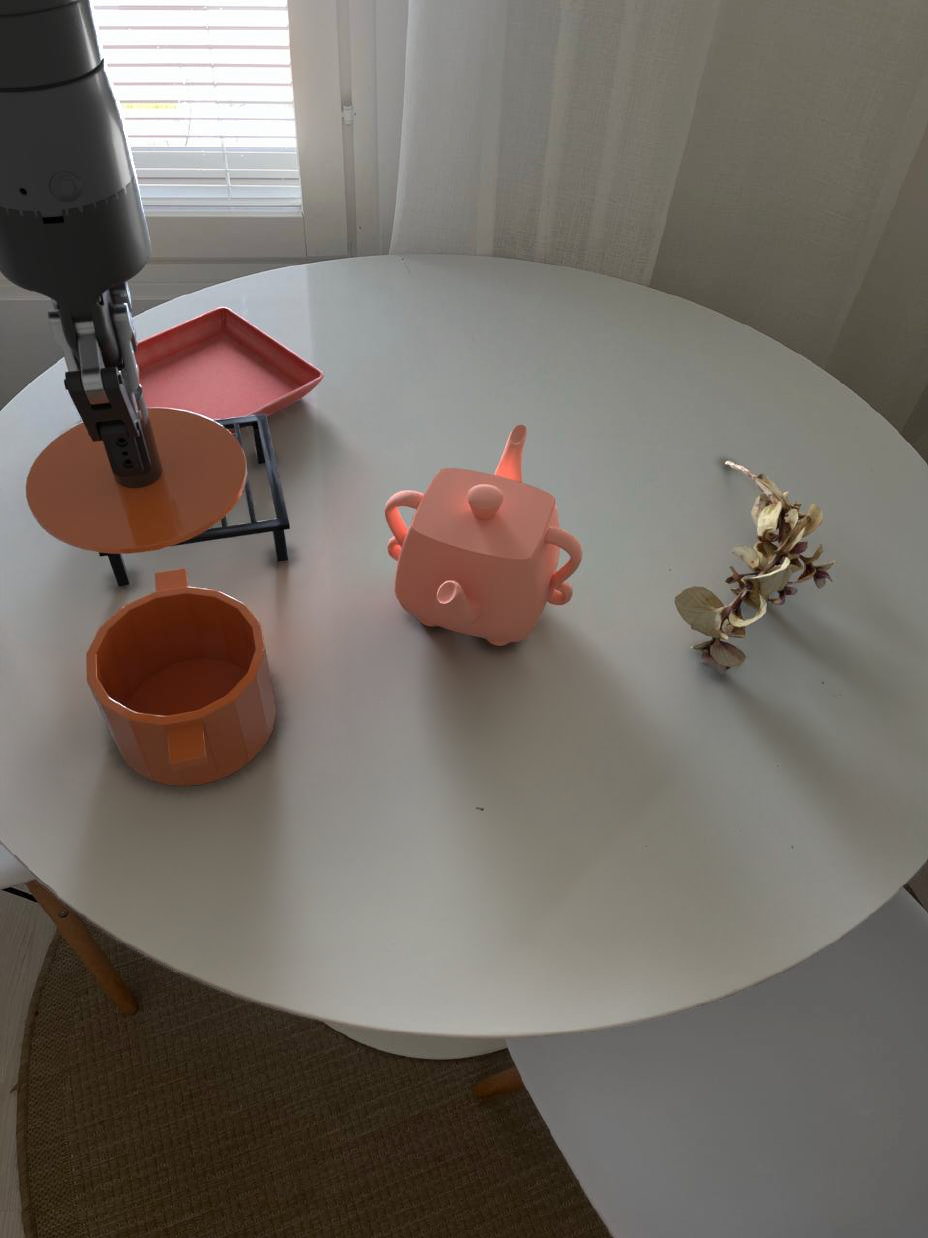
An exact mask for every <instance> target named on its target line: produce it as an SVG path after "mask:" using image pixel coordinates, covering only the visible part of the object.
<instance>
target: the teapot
mask: <svg viewBox="0 0 928 1238" xmlns="http://www.w3.org/2000/svg"><path fill="white" fill-rule="evenodd" d="M527 435H528V430H527V427H526V425H524V424H517V425H516V426H515V427H514V428H513V429H512V430H511V432H510V434H509V436H508V439H507V441H506V443H505V446H504V450H503V453H502V455H501V457H500V460H499V463H498V465H497V467H496V468H495V471H494V473H493V474H492V473H488V472H483V471H477V470H471V469H465V468H459V467H445V468H441V469H440V470H439V471H438V472H437V473H436V474H435V476H434V477H433V479H432V480H431V482H430V483H429V485H428V488H427V489H426V491H425V493H422V492H420V491H416V490H409V489H408V490H400V491H398V492H396V493H394V494H393V495H391V496H390V497H389V499H388V500H387V502H386V504H385V506H384V517H385V521H386V523H387V525H388V527H389V530H390V531H391V533H392V535H393V536H392V537H391V538H390V539H389V540H388V542H387V553H388V555H389V556H390V558H392V559H393V560H394V561H396V569H395V577H394V594H395V597H396V599H397V601H398V603H399V604H400V606H401V607H402V608H403V609H404V611H406V612H407V613H409V614H410V615H412V616H414V617H417V619H418V621H419V622H420V623H421V624H422V625H425V626H427V627H440V628H443V629H446V630H449V631H452V632H456V633H459V634H463V635H467V636H471V637H475V638H480V639H481V638H482V639H485V640H486V641H487V642H488V643H490V644H491V645H494V646H498V647H499V646H500V647H501V646H506V645H508V644H510V643H518V642H522V641H525V640H526V639H527V638H528V636H529V635H530V634H531V633H532V632H533V631H534V630H535V628H536V626H537V624H538V622H539V620H540V618H541V616H542V614H543V612H544V610H545V607H546V605H547V603H548V604H549V605H553V606H564V605H566V604H568V603H569V602H570V601H571V599H572V597H573V593H574V589H573V586H572V585H571V584H570V583H569V582H566V581H567V580H568V579H569V578H570V577H571V576H572V575H574V573H575V572H576V571H577V570H578V568H579V567H580V565H581V562H582V560H583V548H582V545H581V543H580V541H578V539H577V538H576V537H575V536H574V535H573V534H572V533H570V532H568V531H567V530H565V529H562V528H561V525H560V519H559V518H560V517H559V512H558V506H557V502H556V498H555V497H554V495H552V494H551V493H549V492H547V491H545V490H544V489H541V488H539V487H536V486H533V485H530V484H528V483H524V482H523V473H522V469H523V468H522V467H523V466H522V465H523V464H522V461H523V453H524V447H525V444H526V440H527ZM399 507H407V508H410V509H414V510H415V511H414V515H413V517H412V519H411V522H410V524H409V527H407V525H406V523H405V522H404V520H403V518H402V516H401V513H400V510H399ZM561 549H562V550H563V551H565V552H566V553H567V554H568V555H569V557H570V558H569V559H568V561H566V563H565V564H564V565H562V566H561V567H560V568H559V569H558V566H559V561H560V555H561Z"/></svg>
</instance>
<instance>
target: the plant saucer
mask: <svg viewBox="0 0 928 1238" xmlns="http://www.w3.org/2000/svg"><path fill="white" fill-rule="evenodd" d="M134 355H135V359H136V363H137V365H138V367H139V385H140V386H141V387H142V390H143V394H144V398H145V402H146V405H147V408H169V409H178V410H183V411H188V412H192V413H195V414H199V415H201V416H204V417H207V418H209V419H211V420H218V419H226V418H235V417H243V416H251V415H260V414H266V416H267V417H269V416H271V415H272V414H274V413H276V412H278V411H280V410H283V409H284V408H286V407H288V406H290V405H291V404H294V403H295V402H297V401H299V400H301V399H303V398H304V397H305V396H307V395H308V394H309V393H310V392H311V391H313V390H315V388H316V387H317V386H318V385H319V384H320V383H321V381H322V380H323V379H324V378H325V373H324V372H323V371H322V370H320V369H319V368H318V367H316V366H315V365H314V364H312V363H310V362H309V361H307V360H305V358H303V357H302V356H300V355H298V354H297V353H296V352H294V351H293V350H292V349H289V348H288V347H286V346H285V345H284V344H282V343H280V342H279V341H278V340H276V339H275V338H274V337H272V336H270V335H269V334H268V333H266V332H265V331H263V330H261V329H260V328H259V327H257V326H256V325H254V324H253V323H251V322H250V321H248V320H247V319H245V318H244V317H242V316H241V315H240V314H238V313H237V312H235V311H234V310H232V309H231V308H229V307H228V306H227V307H226V306H219V307H217V308H215V309H212V310H209V311H207V312H205V313H203V314H200V315H198V316H195V317H193V318H190V319H188V320H186V321H184V322H181V323H179V324H177V325H175V326H172V327H169V328H167V329H165V330H163V331H160V332H158V333H156V334H153V335H152V336H148V337H146V338H144V339H141V340H140V341H137V351H136V352H135V353H134ZM245 428H246V429H247V427H242V428H240V431H242V430H244V429H245ZM227 430H228V431H229V432H230V433H231V434H232V435H235V430H234V428H233V429H227Z"/></svg>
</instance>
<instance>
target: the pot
mask: <svg viewBox="0 0 928 1238" xmlns="http://www.w3.org/2000/svg"><path fill="white" fill-rule="evenodd" d="M154 581H155V582H154V583H155V591H153V592H151V593H148V594H146V595H144V596H141V597H140V598H137V599H135V600H133V601H131V602H128V603H127V604H125V605H122V607H120V608H119V609H118V610H117V611H116V612H114V614H113V615H112V616H111V617H109V618H108V619H107V620H106V621H105V622H104V623H103V624H101V625H100V627H98V630H97V631H96V634H95V636H94V637H93V639H92V642H91V643H90V646H89V647H88V649H87V651H86V656H85V659H86V663H85V664H86V682H87V685H88V688H89V689H90V691H91V693H92V696H93V698H94V701H95V703H96V705H97V707H98V710H99V712H100V714H101V716H102V719H103V721H104V723H105V725H106V729H108V732H109V734H110V736H111V739H112V740H113V743H114V745H115V746H116V748H117V749H118V751H119V753H120V755H121V757H122V758H123V760H124V761H125V763H126V764H127V765H128V766H129V767H131V769H132V770H133V771H135V772H136V773H138V774H139V775H140V776H142V777H144V778H146V779H148V780H150V781H153V782H156V783H159V784H163V785H168V786H176V787H177V786H178V787H191V786H192V787H193V786H198V785H205V784H210V783H213V782H216V781H219V780H222V779H224V778H226V777H228V776H230V775H233V774H234V773H236V772H237V771H239V770H241V769H242V768H244V767H245V766H246V765H247V764H248V763H250V762H251V761H252V760H253V759H255V757H257V755H259V753H260V752H261V751H262V750H263V748H264V747H265V746H266V744H267V742H268V740H269V738H270V737H271V734H272V732H273V730H274V727H275V722H276V714H277V705H276V699H275V693H274V687H273V682H272V677H271V671H270V665H269V660H268V655H267V654H268V653H267V649H266V644H265V639H264V638H265V637H264V632H263V626H262V624H261V623H260V621H259V620H258V618H257V617H256V616H255V615H254V614H253V612H252V611H251V610H250V609H249V608H248V606H247V605H246V604H245V603H244V602H241V601H239V600H238V599H236V598H234V597H232V596H230V595H229V594H226V593H224V592H222V591H219V590H217V589H216V590H215V589H208V588H201V587H193V586H190V581H189V574H188V571H187V568H186V567H183V568H176V569H170V570H163V571H157V572H154Z"/></svg>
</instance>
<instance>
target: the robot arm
mask: <svg viewBox="0 0 928 1238" xmlns="http://www.w3.org/2000/svg"><path fill="white" fill-rule="evenodd" d="M133 160H134V159H133V155H132V151H131V146H130V139H129V137H128V131H127V127H126V122H125V118H124V114H123V111H122V106H121V104H120V101H119V98H118V94H117V92H116V89H115V86H114V84H113V81H112V78H111V75H110V71H109V69H108V65H107V61H106V57H105V55H104V49H103V44H102V40H101V35H100V30H99V26H98V21H97V18H96V12H95V8H94V4H93V0H0V274H2V276H3V277H4V278H5V279H6V280H8V281H9V282H10V283H12V284H14V285H15V286H17V287H18V288H21V289H24V290H26V291H29V292H34V293H37V294H40V295H43V296H45V297H47V298H49V299H50V301H51V304H52V307H53V309H49V310H47V320H48V325H49V327H50V331H51V334H52V338H53V341H54V343H55V345H56V346H58V347H59V348H60V349H61V351H62V355H63V358H64V361H65V365H66V368H67V371H65V372H64V379H63V384H64V388H65V390H66V391H67V392H68V394H69V397H70V398H71V400H72V403H73V404H74V407H75V408H76V410H77V413H78V415H79V416H80V419H81V421H82V423H84V425H85V427H86V429H87V431H88V435H89V436H90V437H91V439H92V441H93V442H97V441H102V440H103V443H104V446H105V449H106V452H107V455H108V459H109V462H110V465H111V468H112V471H113V473H114V474H115V475H116V476H119V477H126V476H134V475H142V474H147V473H148V472H150V470H151V462H150V457H149V453H148V449H147V446H146V442H145V438H144V434H143V431H142V427H141V423H140V420H141V419H142V415H141V411H138V407H137V403H136V399H135V395H134V391H135V390H136V389H137V388H138V386H139V367H138V365H137V363H136V359H135V355H134V353H135V352H136V351H137V342H138V339H137V331H136V328H135V324H134V321H133V317H132V312H133V311H132V310H133V309H132V299H131V293H130V289H129V284H128V281H130V280H131V279H133V278H134V277H136V276H137V275H138V274H139V273H140V272H141V271H142V270H143V269H144V268H145V266H146V265H147V264H148V263H149V260H150V257H151V253H152V242H151V238H150V233H149V228H148V224H147V219H146V214H145V210H144V205H143V200H142V197H141V192H140V186H139V182H138V177H137V172H136V168H135V165H134V164H135V163H134V161H133Z"/></svg>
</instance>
